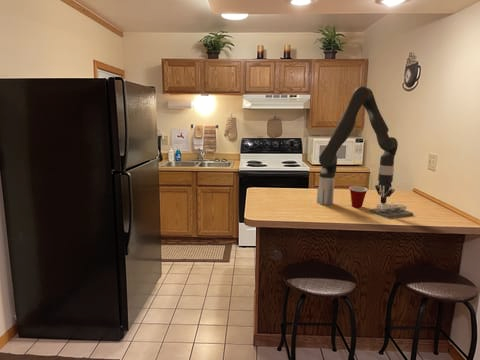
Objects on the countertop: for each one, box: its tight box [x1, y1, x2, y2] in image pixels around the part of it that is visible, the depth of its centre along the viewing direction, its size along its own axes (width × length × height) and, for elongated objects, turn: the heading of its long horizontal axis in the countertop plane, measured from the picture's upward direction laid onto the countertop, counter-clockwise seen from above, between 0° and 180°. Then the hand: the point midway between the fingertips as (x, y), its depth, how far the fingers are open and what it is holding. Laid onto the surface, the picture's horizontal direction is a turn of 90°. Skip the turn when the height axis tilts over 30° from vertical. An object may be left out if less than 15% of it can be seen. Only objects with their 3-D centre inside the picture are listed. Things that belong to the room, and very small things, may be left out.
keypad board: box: [369, 207, 414, 219], centre depth 195 cm, size 18×14×4 cm
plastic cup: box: [348, 185, 368, 209], centre depth 207 cm, size 11×11×12 cm
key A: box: [375, 202, 389, 212], centre depth 192 cm, size 5×5×4 cm
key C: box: [397, 203, 407, 211], centre depth 197 cm, size 5×5×4 cm
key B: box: [385, 201, 399, 211], centre depth 194 cm, size 5×5×4 cm
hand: (383, 203), depth 192 cm, fingers closed
